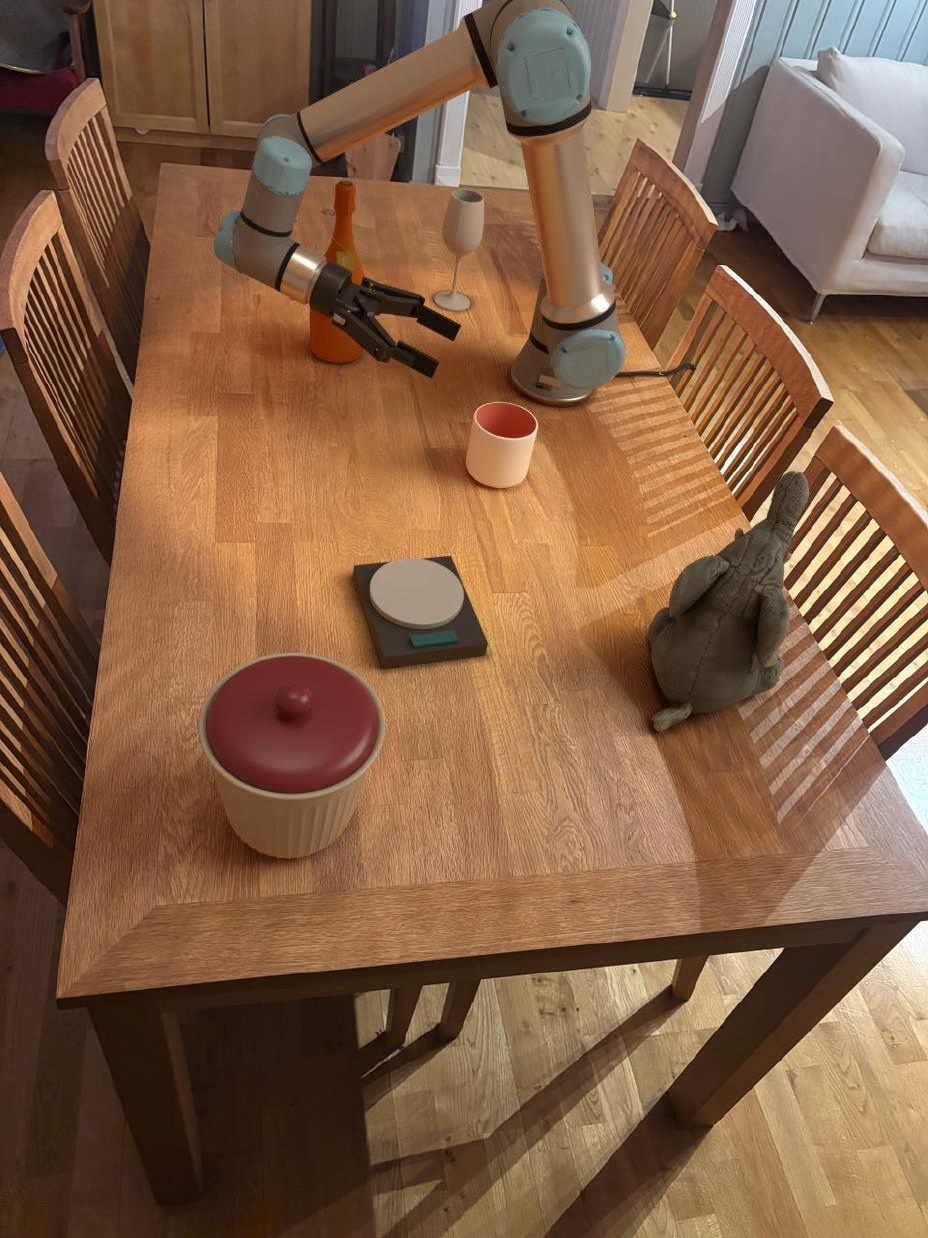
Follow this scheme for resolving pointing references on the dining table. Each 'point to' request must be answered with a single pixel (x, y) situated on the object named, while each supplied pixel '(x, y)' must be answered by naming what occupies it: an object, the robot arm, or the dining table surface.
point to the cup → (501, 444)
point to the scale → (418, 611)
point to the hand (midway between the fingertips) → (447, 351)
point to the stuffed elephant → (728, 616)
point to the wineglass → (461, 239)
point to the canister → (291, 749)
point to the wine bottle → (341, 250)
